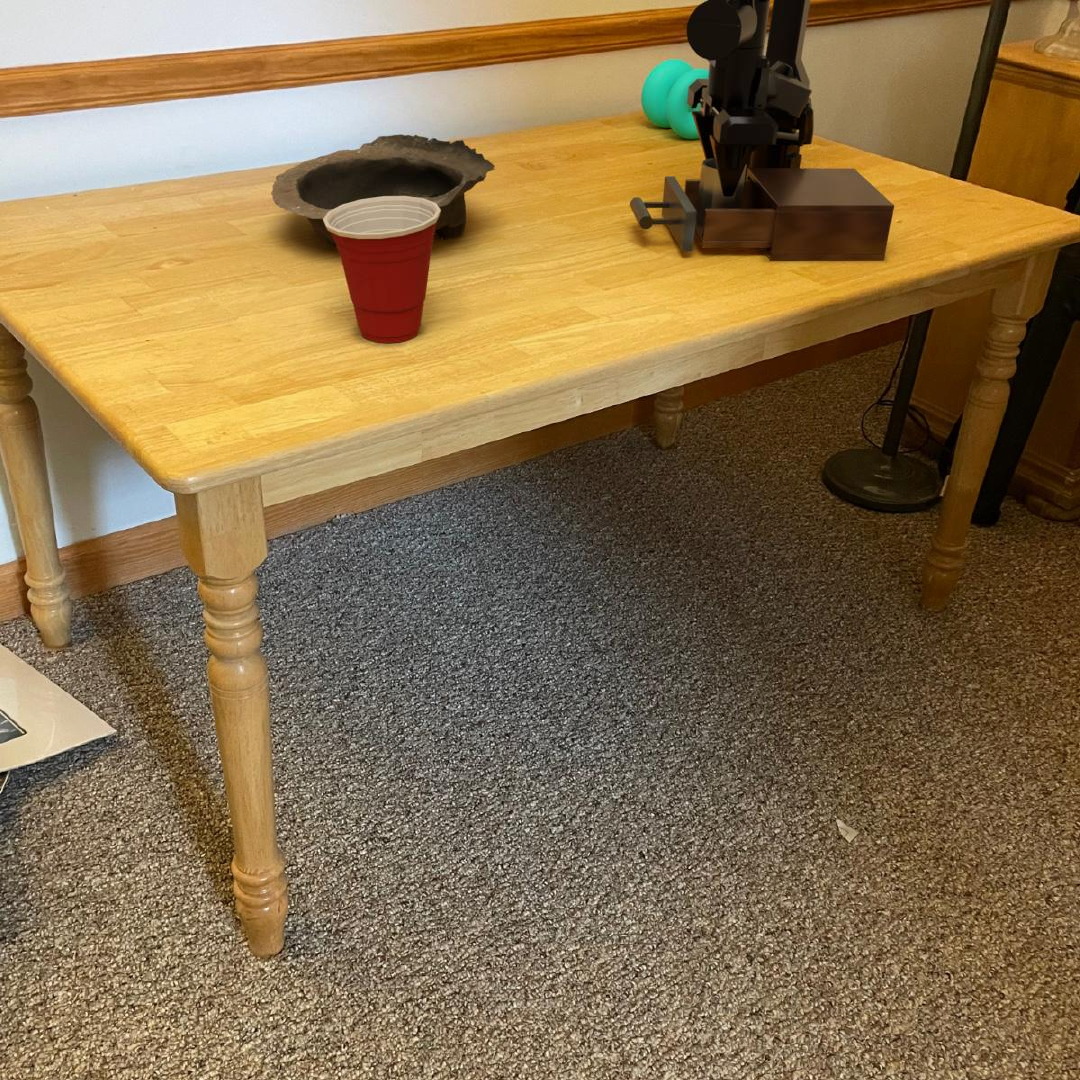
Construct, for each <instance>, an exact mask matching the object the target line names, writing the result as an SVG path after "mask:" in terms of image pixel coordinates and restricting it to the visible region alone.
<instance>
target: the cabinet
mask: <svg viewBox="0 0 1080 1080" xmlns="http://www.w3.org/2000/svg"><path fill="white" fill-rule="evenodd" d="M746 179H752V180H753V182H754V183H755V184H756V185H757V187H758V188H759V189H760V190H761V192H762V193H763V194H764V195H765V196H766V198H767V199H768V200H769V201H770V203H771V204H772V205H773V206H774V208H775V209H776V213H775V220H774V227H773V234H772V241H771V248H761V250H762V251H763V252H764V254H765V255H766V257H767V258H768V259H769V261H770V262H771V261H772V262H775V261H777V262H779V261H783V262H786V261H787V262H789V261H790V262H791V261H797V262H798V261H801V262H803V261H806V262H807V261H809V262H810V261H811V262H813V261H814V262H815V261H884V260H885V256H886V250H887V245H888V239H889V235H890V230H891V225H892V220H893V215H894V211H895V210H894V209H895V204H893V202H891V201H890V200H889V198H888V197H886V196H885V195H884V194H883V193H882V192H880V191H879V190H878V189H877V188H876V187H875V186H874V185H873V184H872V183H871V182H870V181H868V180H867V179H866V177H864V176H863V175H862V174H861V172H859V171H858V170H857V169H856V168H838V167H837V168H833V167H832V168H827V167H826V168H825V167H824V168H823V167H822V168H817V167H815V168H814V167H813V168H809V167H805V168H804V167H803V168H802V167H800V168H748V169H747V177H746Z"/></svg>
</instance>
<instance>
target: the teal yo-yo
mask: <svg viewBox="0 0 1080 1080" xmlns="http://www.w3.org/2000/svg"><path fill="white" fill-rule="evenodd" d="M708 74H709V69H707V68H694V67H693V66H692V65H691V64H690V63H689V62H686V61H685V60H682V59H679V58H669V59H666V60H664V61H662V62H660V63H658V64H657V65H655V66H654V67H653V68H652V69H651V70H650V72H649V73H648V74H647V76H646V78H645V80H644V82H643V85H642V89H641V94H640V95H641V96H640V97H641V101H640V102H641V108H642V111H643V114H644V115H645V117H646V118H647V120H648V121H649V122H651V123H652V124H653V125H655V126H657V127H659V128H665V129H668V128H669V129H670V128H671V129H672V131H673V132H674V133H675V134H677V136H679V137H681V138H683V139H688V140H697V139H699V135H698V132H697V129H696V125H695V122H694V119H693V116H692V111H699V104H700V103H698V105H697V107H696V108H691V107H690V106H689V105H688V104H687V98H688V87H689V86H690V85H691V84H692V83H693V82H694V81H695V80H696V79H708Z"/></svg>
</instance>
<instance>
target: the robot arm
mask: <svg viewBox="0 0 1080 1080" xmlns="http://www.w3.org/2000/svg"><path fill="white" fill-rule="evenodd" d="M770 5H771V0H704V1H703V2H702V3H700V4H698V5H697V6H696V7H695V8H694V9H693V11H692V12H691V14H690V16H689V18H688V21H687V22H686V38H687V41H688V44H689V46H690V48H691V50H692V51H693V53H695V54H696V55H697V56H699V57H700V58H702V59H704V60H706V61H707V62H708V63H709V65H708V70H709V74H708V79H696V80H695V81H694V82H693V83H692V84H691V85H690V86H689V87H688V98H687V104H688V105H689V106H690V107H691V108H696V107H697V105H698V103H700V104H699V111H692V116H693V119H694V122H695V125H696V129H697V132H698V135H699V138H698V139H699V142H700V145H701V148H702V152H703V156H704V160H707V159H710V158H715V162H716V166H717V171H718V175H719V180H720V184H721V188H722V192H723V195H724V196H725V197H732V196H733V195H734V193H735V190H736V188H737V185H738V183H739V180H740V178H741V175H742V173H743V171H744V168H745V166H746V165H747V166H746V174H745V179H746V177H747V169H748V168H801V164H802V157H803V156H802V154H801V153H800V151H801V148H802V147H803V146H806V145H807V146H808V145H811V144H813V137H814V128H815V127H814V122H815V121H814V119H815V118H814V109H813V105H812V98H811V94H812V91H813V90H812V89H811V88H810V84H811V81H810V78H809V76H808V73H807V71H806V68H805V66H804V63H803V60H802V57H803V56H802V55H803V50H804V49H803V48H804V43H805V37H806V30H807V24H808V19H809V11H810V6H811V0H773V1H772V9H771V16H770V22H769V29H768V36H767V28H768V21H769V13H770ZM766 37H767V44H766V43H765V42H766ZM765 44H766V45H765ZM765 46H766V50H765ZM764 53H765V55H764Z"/></svg>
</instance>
